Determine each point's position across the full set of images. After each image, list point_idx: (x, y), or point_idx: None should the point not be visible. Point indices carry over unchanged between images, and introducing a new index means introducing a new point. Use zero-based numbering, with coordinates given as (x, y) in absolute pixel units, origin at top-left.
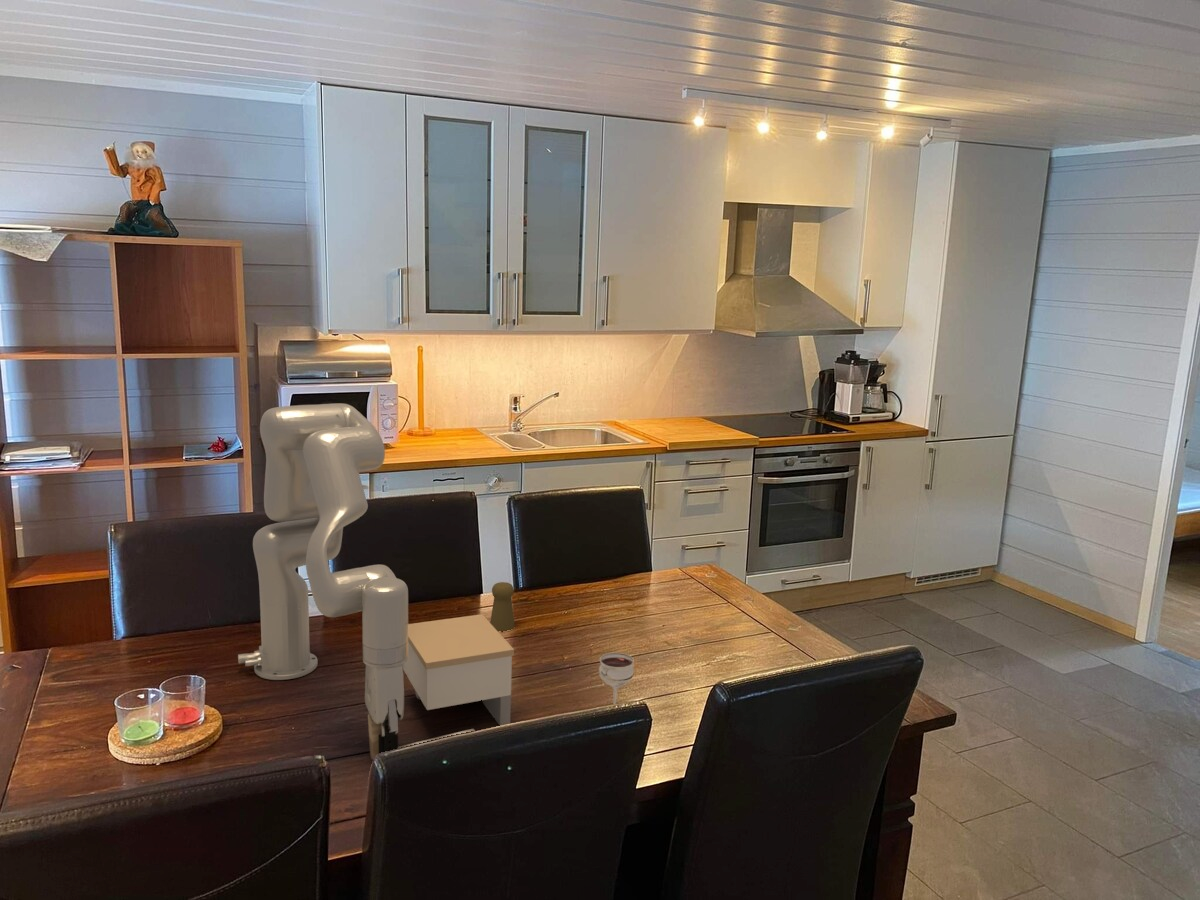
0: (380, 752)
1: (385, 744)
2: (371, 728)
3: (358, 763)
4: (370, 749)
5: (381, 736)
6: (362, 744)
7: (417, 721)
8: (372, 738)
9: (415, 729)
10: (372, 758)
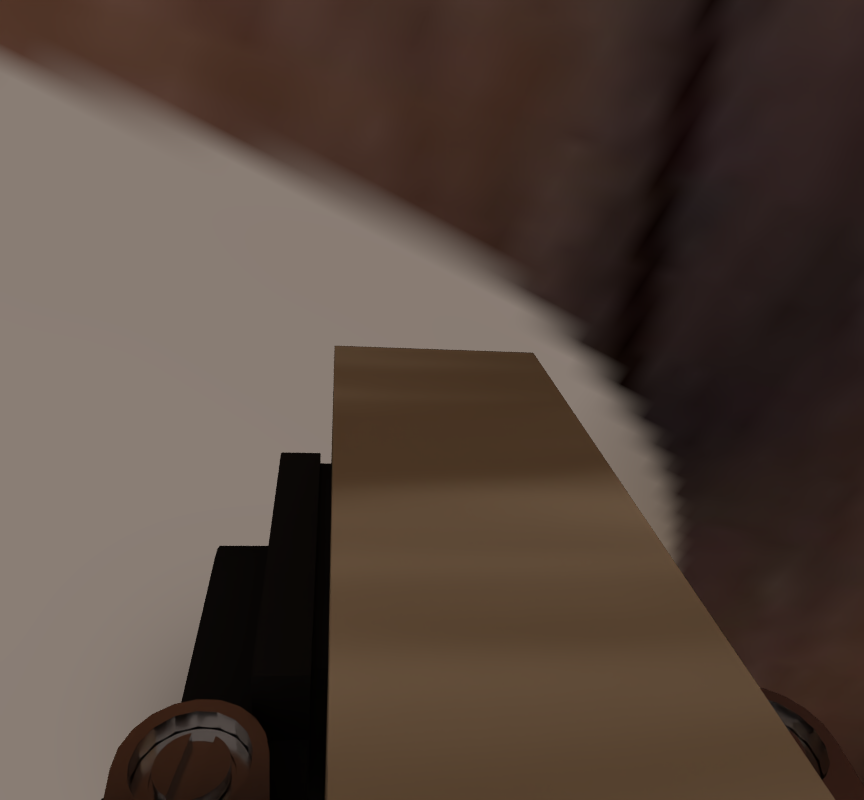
0: (277, 492)
1: (201, 637)
2: (365, 691)
3: (442, 188)
4: (523, 391)
5: (190, 714)
6: (805, 333)
7: None
8: (334, 539)
9: None
10: (414, 361)
